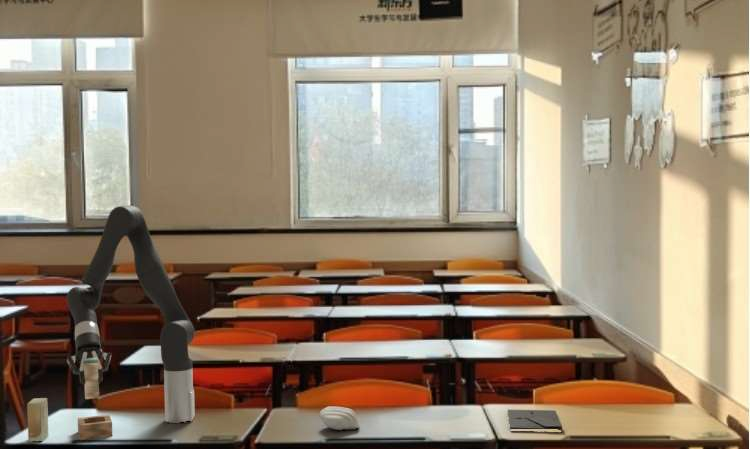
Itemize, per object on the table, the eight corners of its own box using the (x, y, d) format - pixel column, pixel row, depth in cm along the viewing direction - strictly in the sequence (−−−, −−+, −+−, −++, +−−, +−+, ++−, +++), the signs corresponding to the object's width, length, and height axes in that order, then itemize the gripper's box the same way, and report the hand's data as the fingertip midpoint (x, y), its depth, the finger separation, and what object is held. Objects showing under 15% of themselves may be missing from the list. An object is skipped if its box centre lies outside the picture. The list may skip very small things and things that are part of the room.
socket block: (109, 428, 258) (108, 414, 258) (112, 435, 249) (112, 421, 249) (78, 431, 254) (77, 418, 254) (80, 440, 245) (79, 425, 245)
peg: (98, 394, 254) (96, 357, 254) (99, 397, 251) (97, 359, 250) (84, 396, 253) (82, 358, 252) (85, 399, 249) (83, 360, 249)
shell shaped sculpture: (311, 429, 253) (310, 409, 253) (339, 420, 262) (339, 401, 262) (339, 437, 244) (339, 416, 244) (368, 428, 254) (367, 408, 253)
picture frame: (562, 435, 246) (555, 416, 266) (562, 426, 245) (555, 408, 266) (510, 434, 248) (507, 415, 268) (510, 424, 247) (507, 407, 268)
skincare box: (34, 436, 250) (33, 397, 249) (49, 436, 250) (48, 397, 250) (27, 442, 243) (26, 403, 243) (42, 442, 244) (41, 402, 243)
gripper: (64, 333, 255) (67, 378, 244) (110, 329, 261) (116, 373, 250) (64, 347, 260) (67, 392, 249) (109, 342, 266) (115, 386, 255)
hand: (91, 382), depth 250 cm, fingers closed on peg, 4 cm apart
